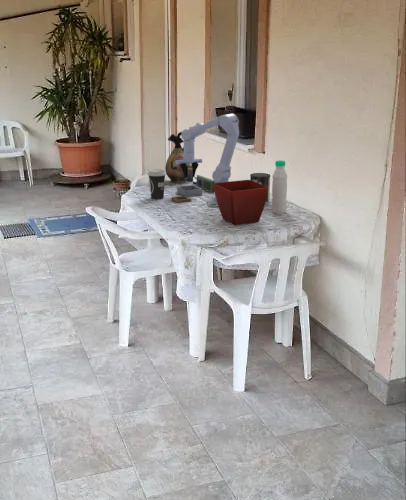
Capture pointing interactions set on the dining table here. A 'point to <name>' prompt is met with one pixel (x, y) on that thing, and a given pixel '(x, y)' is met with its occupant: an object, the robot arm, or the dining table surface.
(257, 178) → the coffee can
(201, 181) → the handheld radio
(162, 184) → the coffee cup
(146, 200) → the dining table surface
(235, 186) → the plant pot
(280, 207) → the water bottle
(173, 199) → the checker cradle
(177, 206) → the dining table surface
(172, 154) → the ceramic jug
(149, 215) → the dining table surface
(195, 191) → the cell bin
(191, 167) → the battery cell
